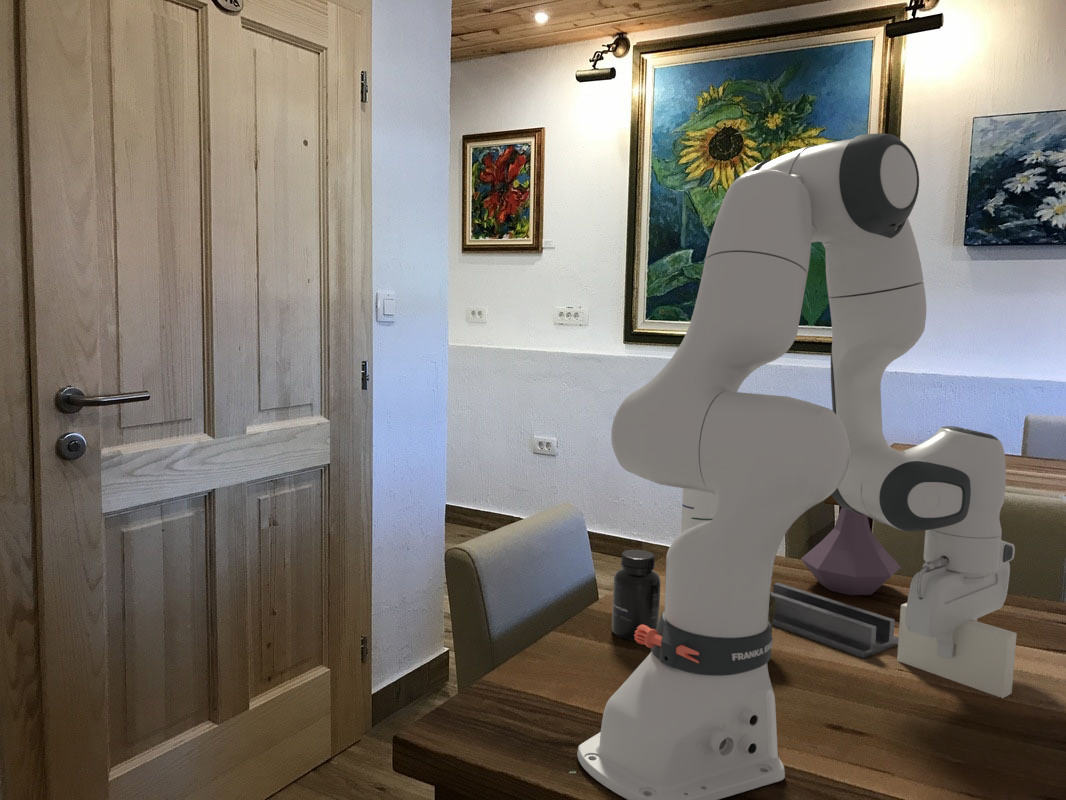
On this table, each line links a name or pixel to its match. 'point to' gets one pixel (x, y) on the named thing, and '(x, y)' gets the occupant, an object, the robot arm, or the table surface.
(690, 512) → the cylindrical container
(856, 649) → the floor track
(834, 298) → the robot arm
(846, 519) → the flask
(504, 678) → the table surface
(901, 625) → the door panel
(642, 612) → the supplement bottle
